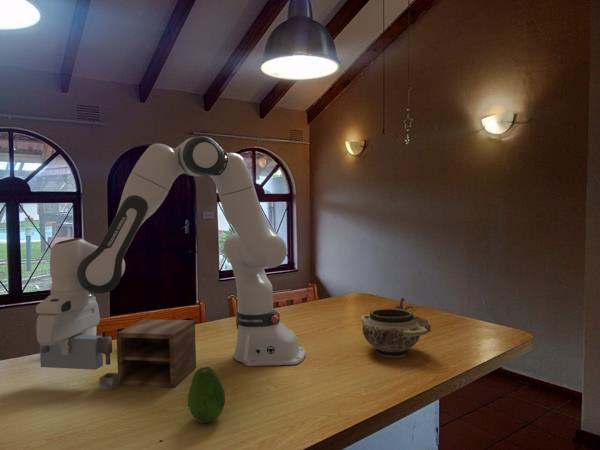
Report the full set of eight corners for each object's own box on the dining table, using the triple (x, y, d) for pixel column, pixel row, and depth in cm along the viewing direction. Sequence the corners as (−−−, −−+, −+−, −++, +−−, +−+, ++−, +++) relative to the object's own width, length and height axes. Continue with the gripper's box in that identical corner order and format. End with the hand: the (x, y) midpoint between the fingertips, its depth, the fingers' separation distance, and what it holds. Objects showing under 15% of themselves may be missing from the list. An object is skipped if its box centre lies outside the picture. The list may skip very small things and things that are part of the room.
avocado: (181, 426, 92) (179, 371, 92) (202, 410, 100) (200, 359, 99) (213, 433, 89) (212, 375, 89) (232, 415, 97) (231, 362, 96)
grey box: (37, 368, 114) (36, 338, 113) (49, 363, 118) (47, 334, 117) (105, 371, 111) (104, 341, 110) (115, 366, 115) (114, 336, 114)
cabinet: (196, 367, 126) (194, 320, 126) (169, 393, 109) (167, 338, 109) (135, 365, 129) (133, 318, 129) (99, 389, 112) (97, 336, 112)
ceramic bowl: (437, 368, 130) (444, 318, 132) (397, 366, 120) (406, 312, 122) (378, 347, 150) (385, 304, 152) (340, 344, 140) (348, 298, 142)
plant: (433, 324, 169) (433, 295, 169) (423, 338, 152) (423, 306, 152) (383, 319, 178) (383, 292, 178) (368, 331, 161) (368, 301, 161)
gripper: (84, 292, 125) (86, 339, 126) (30, 308, 105) (32, 364, 105) (104, 292, 124) (106, 340, 125) (53, 308, 104) (56, 365, 104)
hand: (72, 351), depth 115 cm, fingers closed on grey box, 3 cm apart
